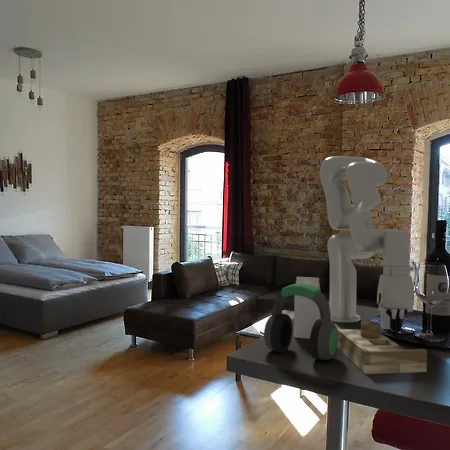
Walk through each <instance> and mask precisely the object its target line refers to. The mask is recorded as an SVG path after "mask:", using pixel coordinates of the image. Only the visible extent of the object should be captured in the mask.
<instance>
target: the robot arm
mask: <svg viewBox="0 0 450 450" xmlns="http://www.w3.org/2000/svg"><path fill="white" fill-rule="evenodd" d="M388 176H389V175H388V170H387V168H386V166H385V165H384V164H383V163H381V162H379V161H377V160H374V159H371V158H368V157H363V156H350V155H349V156H348V155H347V156H346V155H335V156H334V155H333V156H329V157H326V158H324V160H323V161H322V162H321V165H320V170H319V179H320V183H321V186H322V189H323V192H324V195H325V203H326V210H327V211H326V212H327V219H328V224H329V226H330V228H331V229H332V230H334V231H335V230H336V231H349V232H348V233H347V232H342V233H335V234H333V235H331V236H330V237H329V238H328V240H327V243H326V244H327V245H326V246H327V252H328V258H329V260H328V261H329V308H330V314H331V322H333V323H334V322H335V323H343V324H350V323H357V322H359V321H361V315H359V314H357V269H356V267H355V265H354V263H353V262H352V260H359V259H361V260H362V259H369V258H371V257H372V256H374V254H375V253H382V255H383V257H382V263H383V265H382V266H383V267H382V271H383V272H382V273H383V274H380V276H379V279H378V280H379V281H378V286H377V291H376V292H377V294H376V304H377V305H378V309H377V310H378V312H380V313H381V312H383V313H386V314H387V315H388V316H389V317H390V328H391V330H392V331H391V332H394V333H397V332H398V333H401V331H402V328H403V325H402V323H403V319H404V316H406V315H407V313H411V312H414V310H415V309H414V306H415V288H414V283H413V282H414V281H413V277H412V275H411V272H414V269H415V268H414V267H413V266H411V265H410V263H411V261H410V260H411V257H410V256H411V255H410V254H411V249H410V247H411V235H410V232H408V231H407V230H402V229H401V230H396V229H394V228H393V229H392V228H374V225H373V218H372V213H371V210H373V209H374V208H376V207H377V206H378V205H379V204H380V203H381V201H382V200H381V195H380V193H379V190H378V188H377V187H382V186H384V185H385V184H386V182H387V181H388V180H387V179H388ZM341 180H346V181H347V185H348V188H349V191H350V194H351V197H352V200H353V203H354V204H352V203H351V201H350V194H349V191H348V189H347V187H346V186H345V185H344V184H343V182H341ZM395 309H396V313H395Z"/></svg>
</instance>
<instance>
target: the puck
mask: <svg viewBox="0 0 450 450" xmlns="http://www.w3.org/2000/svg"><path fill="white" fill-rule="evenodd" d="M360 329H361V336H362V337H364V338H368V339H378V338H380V333H381V322H377V321H373V320H365V321H361V322H360Z"/></svg>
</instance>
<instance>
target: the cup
mask: <svg viewBox="0 0 450 450" xmlns="http://www.w3.org/2000/svg"><path fill="white" fill-rule="evenodd" d="M395 313H396V309H395ZM381 327H382V328H384V329H391V328H390V317H389V316H388V315H387V314H386V313H383V312H380V328H381ZM382 328H381V329H382ZM384 329H383V330H384Z"/></svg>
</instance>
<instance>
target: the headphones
mask: <svg viewBox="0 0 450 450" xmlns="http://www.w3.org/2000/svg"><path fill="white" fill-rule="evenodd" d="M295 295H297V296H303V297H306V298H308V299H310V300H312V301H314V302H315V303H316V305H317V307H318V309H319V312H320V319H318V320H316V321H315V323H314V325H313V327H312V330H311V335H310V339H309V351H310V356H311V357H312V358H313V359H314V360H317V361H330V360H332V359H333V358H334V356H335V355H336V352H337V349H338V348H337V345H338V331H337V327H336V326H337V324H335V323H334V321H331V314H330V303H329V301H328V299H327V298H326V296H325V295H324V294H323V293H322V291H321V288H320V289H319V288H317V287H315V286H313V285H309V284H302V283H299V284H296V283H293V284H290V285H287V286H285V287H282V289H281V292H279V294H278V295H276V298H274V301H273V304H272V309H271V310H272V311H271V315H270V316H269V317H268V319H267V321H266V323H265V326H264V331H263V338H264V340H263V341H264V344H265V345H266V347H267V348H268V349H269V350H271V351H274V352H276V353H280V354H282V353H283V354H284V353H285V352H286V351H287V350H288V349H289V347H290V345H291V342H292V338H293V331H294V327H293V326H294V325H293V321H292V317H291V316H290V315H289V314H288V313H283V309H284V304H285V301H286V299H287V298H288V297H289V296H290V297H291V296H295Z"/></svg>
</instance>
